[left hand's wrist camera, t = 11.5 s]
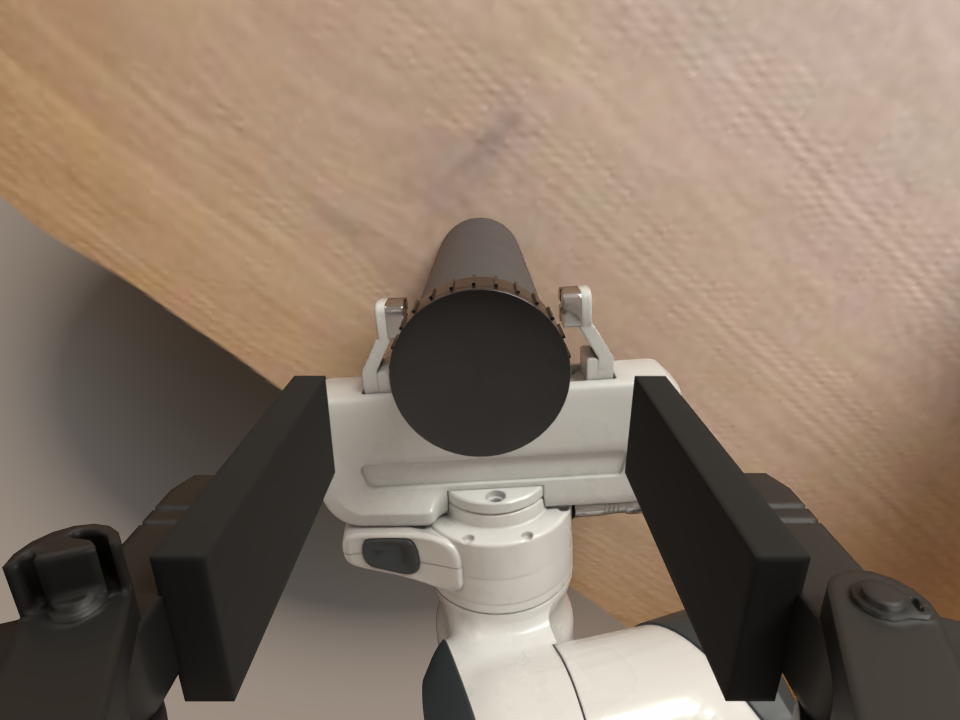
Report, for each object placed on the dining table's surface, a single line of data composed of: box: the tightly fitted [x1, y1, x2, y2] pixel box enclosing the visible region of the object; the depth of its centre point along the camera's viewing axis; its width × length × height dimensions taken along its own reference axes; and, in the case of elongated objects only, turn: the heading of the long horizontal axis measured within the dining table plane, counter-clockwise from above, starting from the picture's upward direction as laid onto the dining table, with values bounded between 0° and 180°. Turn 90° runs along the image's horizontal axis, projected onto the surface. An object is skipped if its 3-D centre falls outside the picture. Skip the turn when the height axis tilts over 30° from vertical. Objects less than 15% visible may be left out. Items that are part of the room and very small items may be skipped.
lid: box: [389, 275, 571, 457], centre depth 18 cm, size 6×6×2 cm
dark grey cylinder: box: [421, 218, 539, 299], centre depth 26 cm, size 5×5×18 cm
